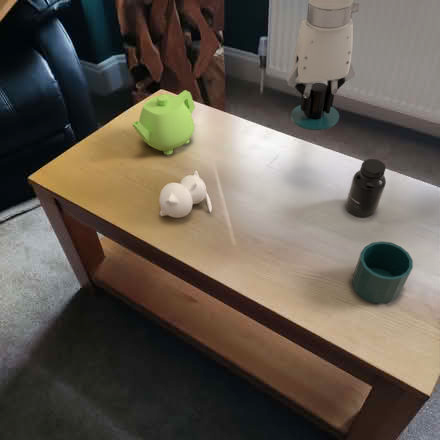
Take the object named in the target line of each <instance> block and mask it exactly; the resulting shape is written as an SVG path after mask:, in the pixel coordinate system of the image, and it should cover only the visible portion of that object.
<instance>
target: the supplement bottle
mask: <svg viewBox="0 0 440 440" xmlns="http://www.w3.org/2000/svg"><path fill="white" fill-rule="evenodd" d="M360 166H361V167H360V169H359V170H358V171H356V172H355V173H354V175H353V176H352V180H351V184H350V187H349V191H348V195H347V198H346V202H345V210H346V211H347V212H348V214H349V215H351V216H353V217H355V218H360V219H367V218H371V217H373V216H374V215H375V214H376V212H377V209H378V207H379V204H380V201H381V199H382V196H383V193H384V191H385V188H386V184H387V180H386V177H385V172H386V169H387V168H386V167H387V166H386V164H385V163H384V162H383V161H382V160H380V159H377V158H367V159H364V161H363V162H362V163H361V165H360Z"/></svg>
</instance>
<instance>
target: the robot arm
mask: <svg viewBox="0 0 440 440" xmlns="http://www.w3.org/2000/svg"><path fill="white" fill-rule="evenodd" d="M360 7H361V6H360V2H355V1H354V0H308V5H307V15H306V19H303V20H302V21H301V24H300V27H299V32H298V35H297V40H296V44H295V51H294V57H293V65H292V68H291V70H290V72H289V73H288V75H287V77H286V78H285V82H286V84H287V86H289V87H291V88H293V89H294V90H295V89H296V91H297V92H298V93H299V94H300V96H301V97H300V105H301V110H302V111H303V112H304V114H305V116H309V115H310V108H311V100H312V99H311V96H310V91H311V88H312V84H313V83H322V82H326V85H327V86H328V91H327V98H326V104H325V113H327V114H328V113H330V107H333V105H334V98H335V95H336V94H337V93H338V90H339V89H340V88H341V87H342V86H343V85H344V84H345V83H346V82H348V81H349V80H351V79H352V78H354V77H355V75H356V73H355V71H354V68H353V65H352V64H351V61H352V54H353V41H354V38H353V37H354V22H353V19H352V17H353V14H354V13H357V12H359V11H360ZM297 79H298V80H297Z"/></svg>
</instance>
